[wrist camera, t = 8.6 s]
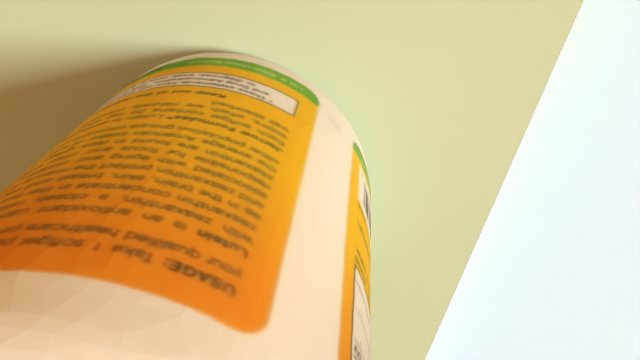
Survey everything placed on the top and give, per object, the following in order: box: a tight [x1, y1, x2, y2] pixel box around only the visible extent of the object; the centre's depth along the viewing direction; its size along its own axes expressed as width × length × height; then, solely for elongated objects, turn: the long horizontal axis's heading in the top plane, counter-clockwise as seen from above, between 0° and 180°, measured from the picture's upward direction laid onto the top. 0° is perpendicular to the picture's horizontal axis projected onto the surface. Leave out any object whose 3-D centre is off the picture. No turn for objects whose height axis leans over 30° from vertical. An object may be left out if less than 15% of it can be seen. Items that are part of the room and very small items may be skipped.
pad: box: [0, 0, 583, 360], centre depth 11 cm, size 10×10×1 cm
